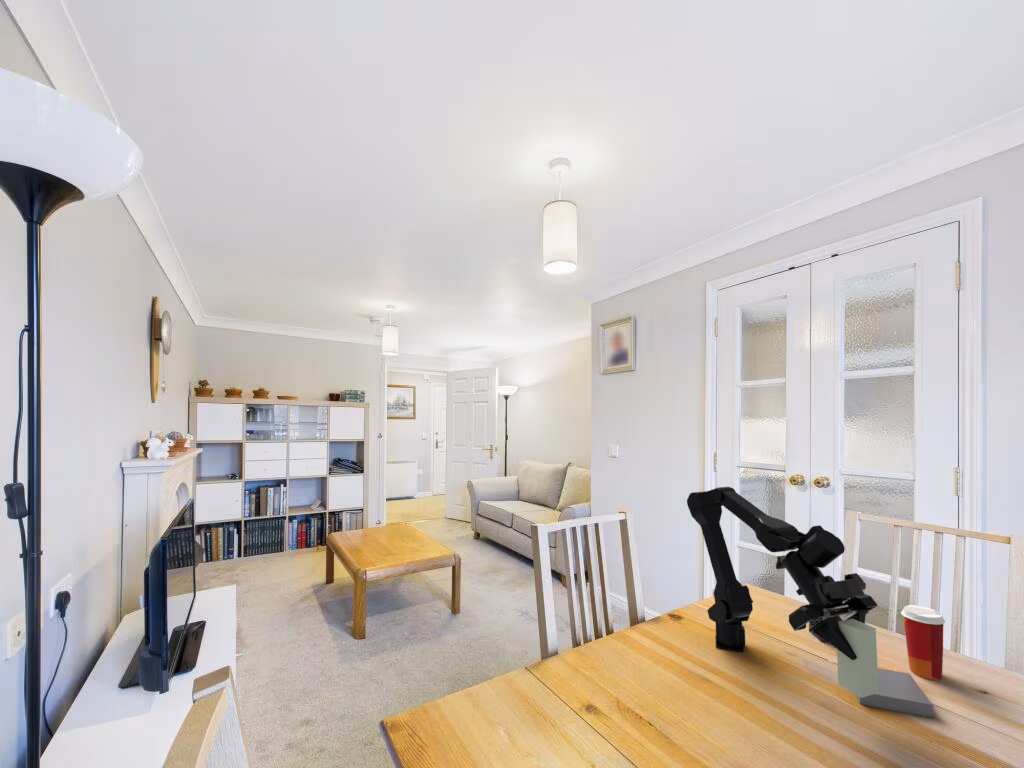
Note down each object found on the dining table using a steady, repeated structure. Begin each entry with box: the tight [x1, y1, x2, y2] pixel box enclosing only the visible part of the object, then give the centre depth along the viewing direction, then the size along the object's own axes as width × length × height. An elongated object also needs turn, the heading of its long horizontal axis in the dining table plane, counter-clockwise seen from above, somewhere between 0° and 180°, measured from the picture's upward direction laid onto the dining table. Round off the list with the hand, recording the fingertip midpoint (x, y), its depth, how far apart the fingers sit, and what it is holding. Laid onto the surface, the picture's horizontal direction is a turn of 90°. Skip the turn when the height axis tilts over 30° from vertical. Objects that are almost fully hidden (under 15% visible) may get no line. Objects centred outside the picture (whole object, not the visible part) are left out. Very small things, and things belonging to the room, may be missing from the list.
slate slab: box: [854, 667, 934, 718], centre depth 102 cm, size 12×12×2 cm
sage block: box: [836, 619, 878, 698], centre depth 92 cm, size 4×4×12 cm
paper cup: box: [900, 604, 946, 681], centre depth 110 cm, size 8×8×14 cm
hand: (863, 657), depth 91 cm, fingers closed on sage block, 4 cm apart
